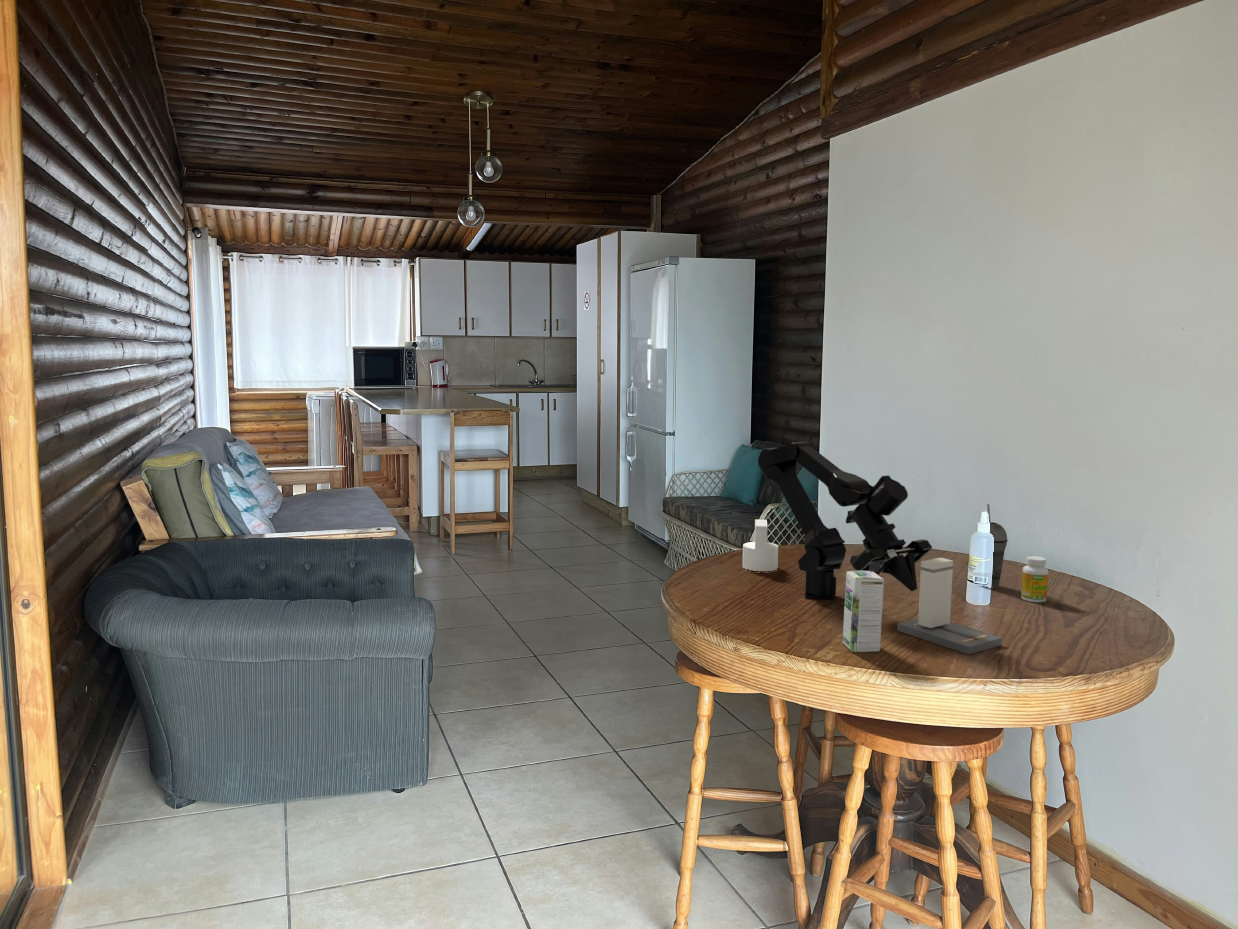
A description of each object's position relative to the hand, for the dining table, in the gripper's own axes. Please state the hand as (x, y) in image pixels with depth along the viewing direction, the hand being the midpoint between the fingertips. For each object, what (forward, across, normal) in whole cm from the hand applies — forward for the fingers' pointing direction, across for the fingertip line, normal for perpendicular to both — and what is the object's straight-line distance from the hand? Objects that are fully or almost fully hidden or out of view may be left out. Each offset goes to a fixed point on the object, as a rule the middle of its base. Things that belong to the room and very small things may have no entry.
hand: (914, 590), depth 186 cm
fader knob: (+8, 0, 0) cm, 8 cm away
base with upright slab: (-32, -6, -44) cm, 55 cm away
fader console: (+12, 0, +1) cm, 12 cm away
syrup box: (+8, +19, -3) cm, 21 cm away
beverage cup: (-2, -41, -14) cm, 43 cm away
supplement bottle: (+7, -40, -4) cm, 40 cm away
